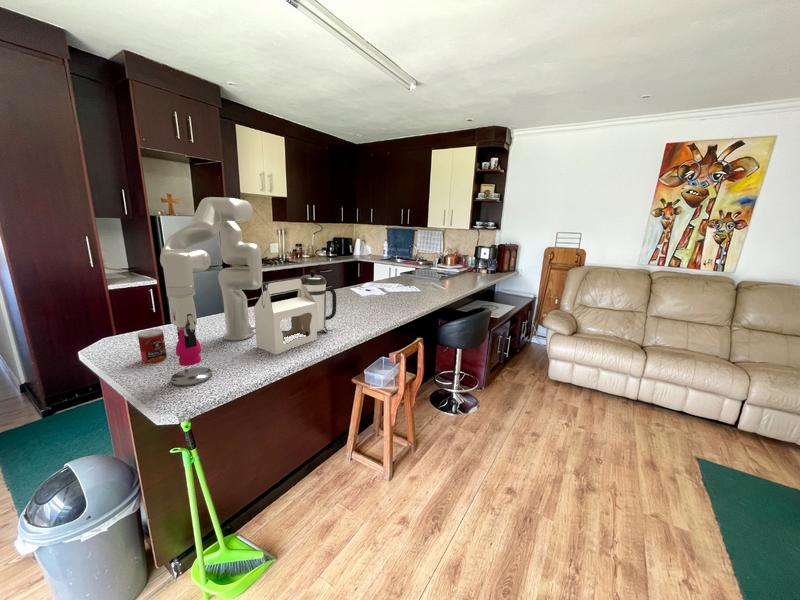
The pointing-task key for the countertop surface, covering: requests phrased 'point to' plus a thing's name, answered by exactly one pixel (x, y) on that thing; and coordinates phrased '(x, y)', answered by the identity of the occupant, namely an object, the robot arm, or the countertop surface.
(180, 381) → the grey metal disc
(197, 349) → the pepper mill
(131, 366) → the countertop surface
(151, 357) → the canned food
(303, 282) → the coffee press
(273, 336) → the gable box
